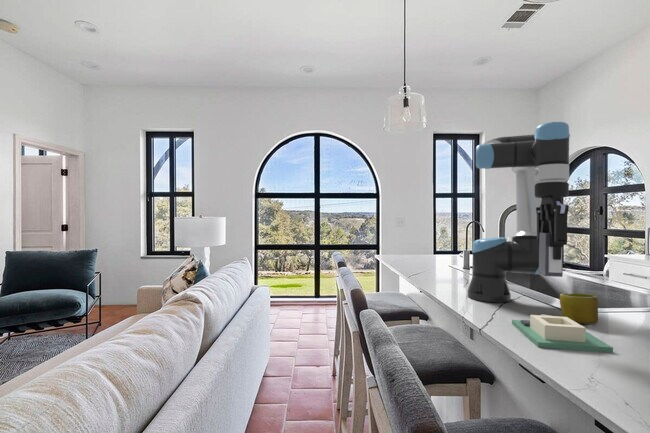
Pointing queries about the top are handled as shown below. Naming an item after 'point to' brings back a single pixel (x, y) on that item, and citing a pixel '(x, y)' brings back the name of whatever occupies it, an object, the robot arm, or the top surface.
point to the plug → (546, 256)
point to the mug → (579, 307)
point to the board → (564, 344)
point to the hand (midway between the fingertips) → (550, 270)
